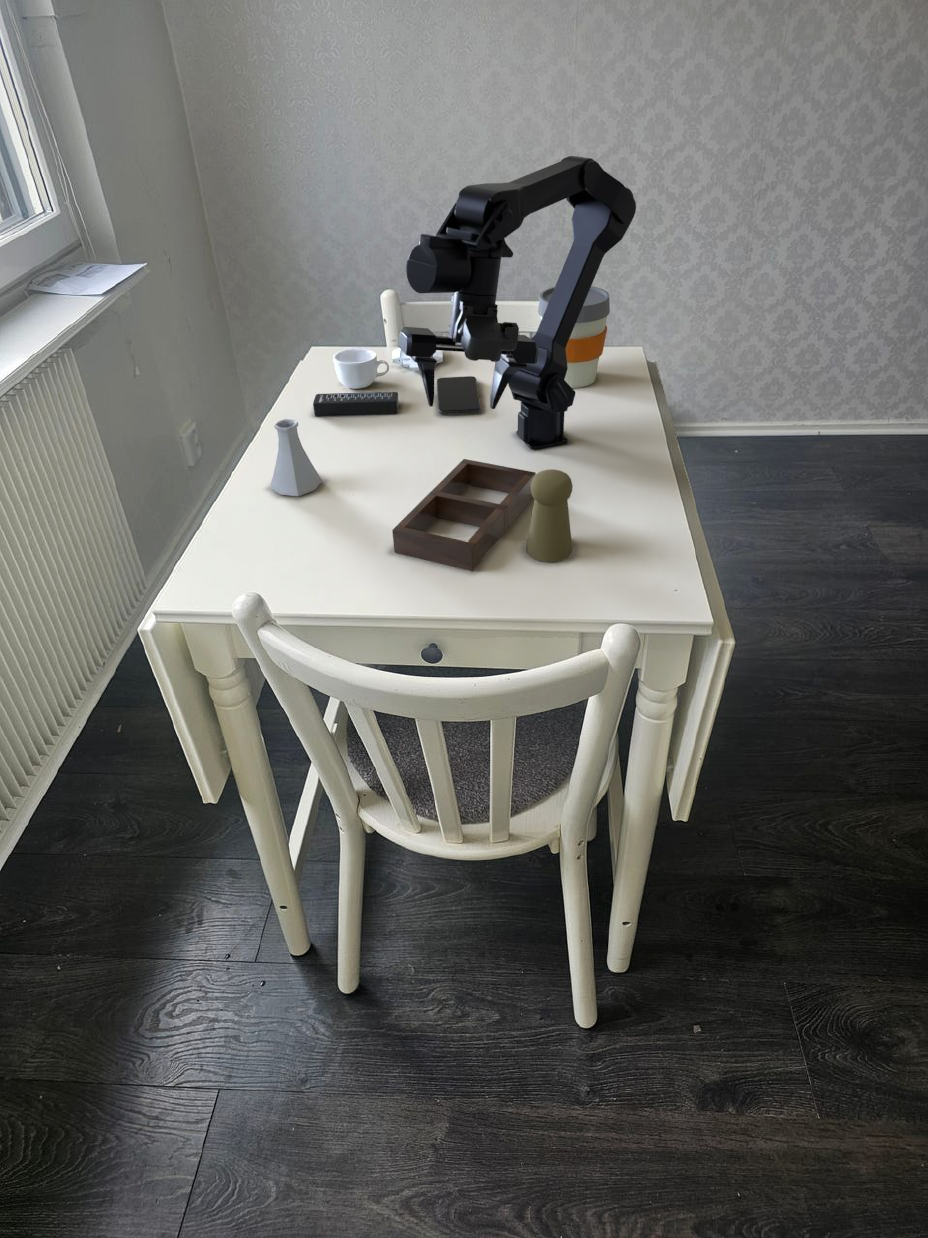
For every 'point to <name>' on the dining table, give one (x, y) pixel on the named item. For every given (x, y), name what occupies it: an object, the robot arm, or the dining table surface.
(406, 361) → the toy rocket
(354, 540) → the dining table surface
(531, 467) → the dining table surface
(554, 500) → the olive pawn
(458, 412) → the smartphone
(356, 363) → the teacup
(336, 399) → the multiport hub
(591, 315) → the reusable coffee cup
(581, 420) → the dining table surface
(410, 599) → the dining table surface
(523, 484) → the frame
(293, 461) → the flask
